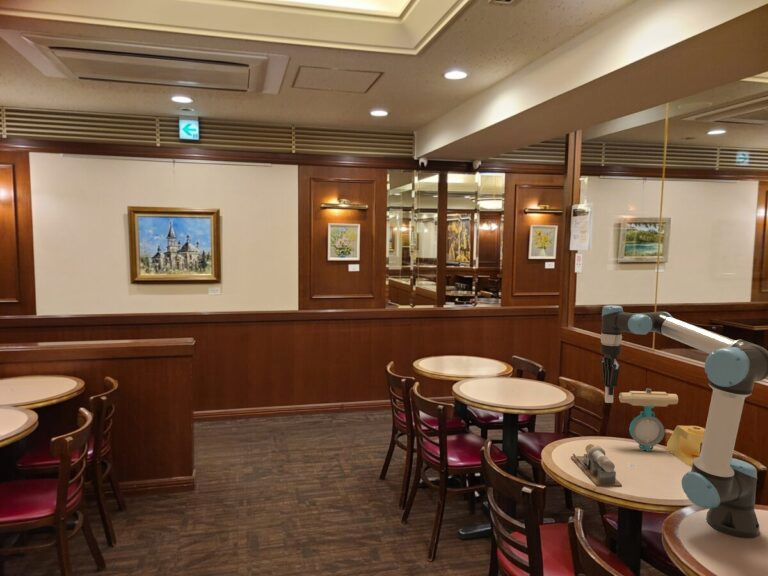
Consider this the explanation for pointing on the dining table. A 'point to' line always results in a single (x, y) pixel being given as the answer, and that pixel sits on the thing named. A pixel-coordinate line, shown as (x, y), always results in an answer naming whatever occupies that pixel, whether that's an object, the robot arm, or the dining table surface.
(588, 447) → the coupling
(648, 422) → the butterfly valve
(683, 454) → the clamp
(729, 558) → the dining table surface
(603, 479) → the pipe jig
